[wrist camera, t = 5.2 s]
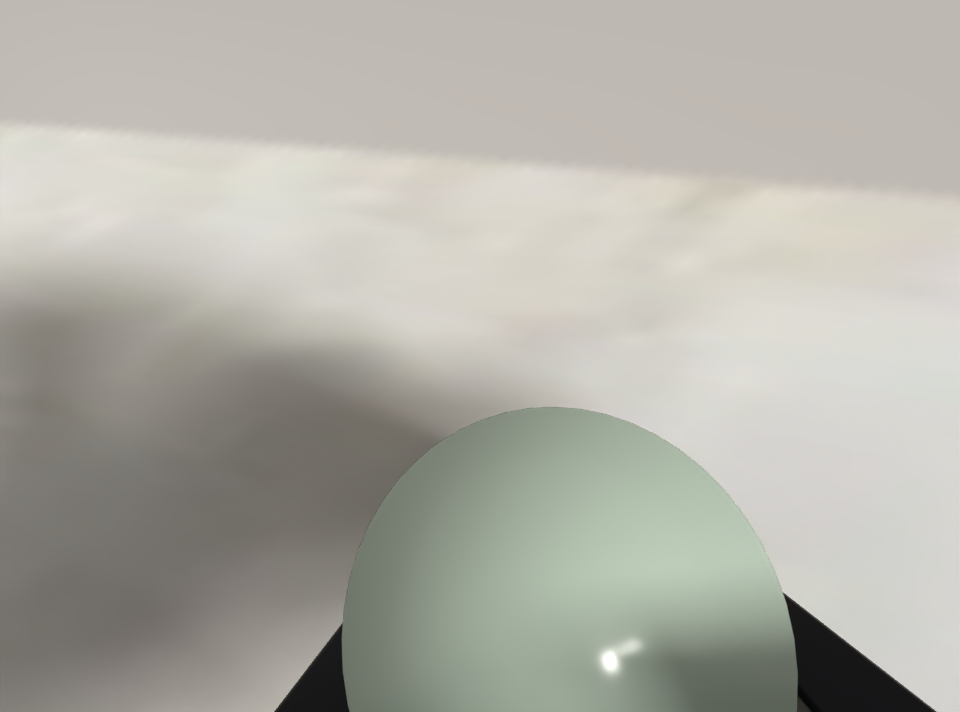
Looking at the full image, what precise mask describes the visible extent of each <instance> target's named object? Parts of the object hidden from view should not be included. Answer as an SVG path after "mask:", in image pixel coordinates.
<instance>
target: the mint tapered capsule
mask: <svg viewBox="0 0 960 712" xmlns="http://www.w3.org/2000/svg"><path fill="white" fill-rule="evenodd" d="M342 663H343V676H344V683H345V689H346V696H347V703H348V707H349V711H350V712H797V686H798V671H797V661H796V651H795V641H794V635H793V631H792V626H791V622H790V617H789V613H788V608H787V604H786V601H785V598H784V595H783V592H782V589H781V586H780V584H779V581H778V578H777V575H776V572H775V570H774V568H773V566H772V564H771V561H770V559H769V557H768V555H767V553H766V551H765V549H764V547H763V545H762V543H761V541H760V539H759V538H758V536H757V534H756V533H755V531H754V530H753V528H752V526H751V525H750V523H749V522H748V520H747V518H746V517H745V515H744V514H743V512H742V511H741V510H740V509H739V507H738V506H737V505H736V504H735V502H734V501H733V500H732V499H731V497H730V496H729V495H728V493H727V492H726V491H725V490H724V489H723V488H722V487H721V486H720V485H719V484H718V483H717V482H716V481H715V480H714V479H713V478H712V477H711V476H710V475H709V474H708V473H707V472H706V471H705V470H704V469H703V468H702V467H701V466H700V465H699V464H697V463H696V462H695V461H694V460H692V459H691V458H690V457H689V456H687V455H686V454H685V453H684V452H682V451H681V450H680V449H678V448H677V447H675V446H674V445H672V444H670V443H669V442H667V441H666V440H664V439H662V438H661V437H659V436H658V435H656V434H654V433H652V432H650V431H648V430H646V429H643V428H641V427H639V426H637V425H635V424H633V423H631V422H628V421H625V420H622V419H619V418H616V417H613V416H610V415H607V414H603V413H598V412H593V411H588V410H583V409H575V408H562V407H543V408H528V409H522V410H516V411H511V412H505V413H502V414H499V415H495V416H492V417H489V418H486V419H483V420H480V421H478V422H476V423H474V424H471V425H469V426H467V427H465V428H463V429H460V430H458V431H457V432H455V433H454V434H452V435H450V436H449V437H447V438H446V439H444V440H442V441H441V442H439V443H438V444H436V445H435V446H434V447H433V448H431V449H430V450H429V451H428V452H426V453H425V454H424V455H423V456H421V457H420V458H419V459H418V460H417V461H416V462H415V463H414V464H413V465H412V466H411V467H410V468H409V469H408V470H407V471H406V472H405V473H404V474H403V475H402V476H401V477H400V479H399V480H398V481H397V482H396V484H395V485H394V486H393V488H392V489H391V490H390V492H389V493H388V494H387V496H386V497H385V498H384V500H383V501H382V503H381V505H380V507H379V508H378V510H377V512H376V513H375V515H374V517H373V519H372V520H371V522H370V524H369V526H368V528H367V531H366V533H365V535H364V538H363V540H362V542H361V544H360V547H359V549H358V552H357V555H356V558H355V562H354V565H353V568H352V571H351V575H350V578H349V583H348V589H347V594H346V599H345V605H344V614H343V627H342Z"/></svg>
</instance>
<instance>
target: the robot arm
mask: <svg viewBox="0 0 960 712" xmlns="http://www.w3.org/2000/svg"><path fill="white" fill-rule="evenodd" d="M783 595H784V598H785V601H786V604H787V608H788V613H789V617H790V622H791V626H792V631H793V635H794V641H795V651H796V661H797V671H798V686H797V712H936V711H935V710H934V709H932V708H931V707H930V706H929V705H927V704H926V703H925V702H923V701H922V700H921V699H920V698H918V697H917V696H916V695H914V694H913V693H912V692H911V691H909V690H908V689H907V688H905V687H904V686H903V685H902V684H900V683H899V682H898V681H896V680H895V679H894V678H893V677H891V676H890V675H889V674H887V673H886V672H885V671H884V670H882V669H881V668H880V667H878V666H877V665H876V664H875V663H873V662H872V661H871V660H869V659H868V658H867V657H866V656H864V655H863V654H862V653H860V652H859V651H858V650H857V649H855V648H854V647H853V646H851V645H850V644H849V643H848V642H846V641H845V640H844V639H842V638H841V637H840V636H839V635H837V634H836V633H835V632H833V631H832V630H831V629H829V628H828V627H827V626H826V625H824V624H823V623H822V622H820V621H819V620H818V619H817V618H815V617H814V616H813V615H811V614H810V613H809V612H808V611H806V610H805V609H804V608H802V607H801V606H800V605H799V604H797V603H796V602H795V601H793V600H792V599H791V598H790V597H788V596H787V595H786V594H784V593H783ZM342 627H343V623H342V624H341V626H340V627H339V628H338V629H337V631H336V632H335V633H334V635H333V636H332V637H331V639H330V640H329V641H328V643H327V644H326V645H325V646H324V648H323V649H322V650H321V652H320V653H319V654H318V656H317V657H316V658H315V659H314V661H313V662H312V663H311V665H310V666H309V667H308V669H307V670H306V671H305V672H304V674H303V675H302V676H301V678H300V679H299V680H298V682H297V683H296V684H295V686H294V687H293V688H292V689H291V691H290V692H289V693H288V695H287V696H286V697H285V699H284V700H283V701H282V702H281V704H280V705H279V706H278V708H277V709H276V710H275V712H350V711H349V707H348V703H347V696H346V689H345V683H344V676H343V663H342Z"/></svg>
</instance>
